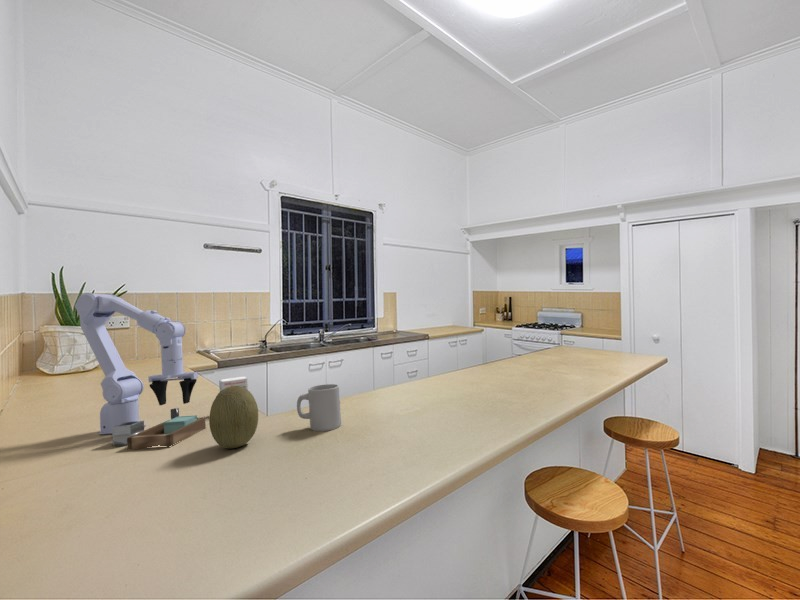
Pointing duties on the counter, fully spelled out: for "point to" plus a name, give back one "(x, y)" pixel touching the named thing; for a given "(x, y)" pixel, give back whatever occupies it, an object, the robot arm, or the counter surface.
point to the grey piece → (126, 432)
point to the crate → (178, 423)
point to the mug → (322, 407)
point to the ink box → (233, 382)
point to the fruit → (233, 417)
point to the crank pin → (174, 413)
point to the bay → (163, 435)
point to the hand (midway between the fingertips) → (174, 403)
